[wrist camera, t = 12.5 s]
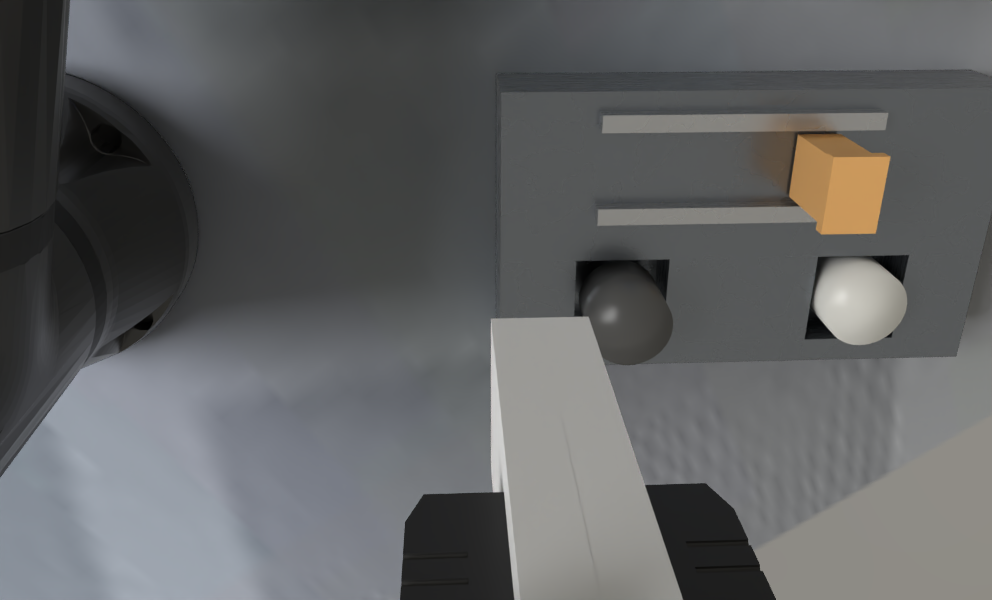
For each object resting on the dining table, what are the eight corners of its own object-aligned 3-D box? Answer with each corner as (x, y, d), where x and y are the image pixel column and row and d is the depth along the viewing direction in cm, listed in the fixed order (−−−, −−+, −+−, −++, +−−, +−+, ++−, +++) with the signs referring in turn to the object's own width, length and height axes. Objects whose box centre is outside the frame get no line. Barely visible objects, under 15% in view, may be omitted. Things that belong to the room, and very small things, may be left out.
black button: (576, 333, 46) (586, 366, 43) (580, 261, 44) (590, 290, 41) (654, 331, 46) (669, 364, 43) (660, 259, 44) (676, 288, 41)
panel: (495, 327, 50) (501, 374, 45) (496, 73, 44) (502, 96, 39) (915, 318, 51) (964, 363, 46) (970, 69, 45) (1033, 91, 40)
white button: (795, 315, 48) (820, 345, 45) (806, 246, 46) (833, 272, 43) (868, 314, 48) (898, 344, 45) (882, 244, 46) (914, 270, 43)
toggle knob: (784, 200, 42) (821, 234, 38) (794, 129, 41) (833, 157, 37) (833, 199, 43) (875, 233, 38) (845, 129, 41) (890, 156, 37)
